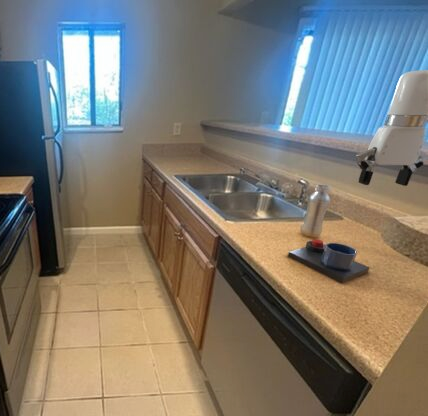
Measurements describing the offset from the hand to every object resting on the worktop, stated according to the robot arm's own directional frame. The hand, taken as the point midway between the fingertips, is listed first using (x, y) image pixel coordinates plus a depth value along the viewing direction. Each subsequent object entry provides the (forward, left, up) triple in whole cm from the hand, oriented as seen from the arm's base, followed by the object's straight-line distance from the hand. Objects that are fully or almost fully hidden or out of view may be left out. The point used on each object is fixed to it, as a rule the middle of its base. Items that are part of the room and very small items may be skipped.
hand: (381, 184), depth 79 cm
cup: (0, +10, -24) cm, 26 cm away
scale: (+3, +9, -26) cm, 28 cm away
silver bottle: (+18, -7, -26) cm, 33 cm away
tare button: (+9, +6, -23) cm, 25 cm away
